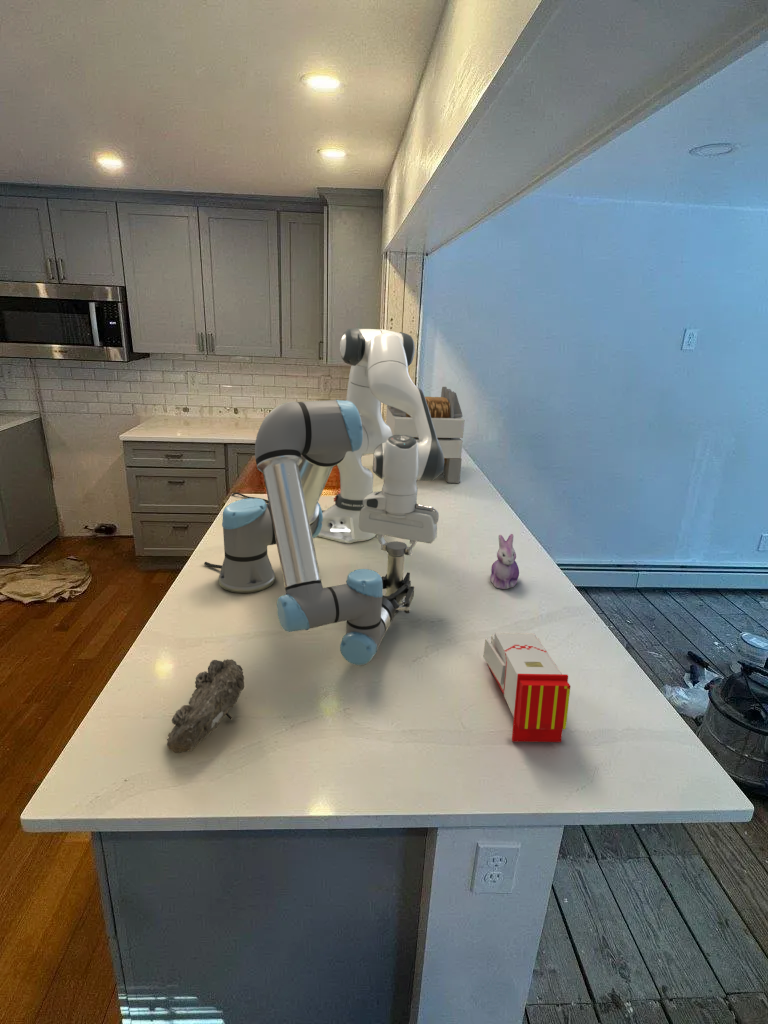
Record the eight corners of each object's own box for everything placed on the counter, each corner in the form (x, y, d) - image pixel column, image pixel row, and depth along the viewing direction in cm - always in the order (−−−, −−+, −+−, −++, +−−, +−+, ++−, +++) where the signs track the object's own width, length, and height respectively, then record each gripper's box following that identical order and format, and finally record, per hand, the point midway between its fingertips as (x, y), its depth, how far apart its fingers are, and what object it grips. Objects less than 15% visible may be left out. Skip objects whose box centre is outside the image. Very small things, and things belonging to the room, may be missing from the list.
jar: (394, 612, 148) (398, 553, 143) (382, 606, 151) (385, 548, 145) (404, 606, 152) (408, 548, 146) (391, 600, 154) (394, 543, 148)
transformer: (382, 463, 289) (386, 382, 275) (445, 464, 293) (451, 384, 279) (390, 482, 257) (394, 392, 243) (460, 483, 261) (468, 394, 247)
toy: (532, 616, 130) (580, 681, 101) (527, 670, 133) (572, 749, 103) (479, 615, 129) (512, 680, 100) (475, 669, 132) (506, 748, 103)
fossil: (192, 660, 117) (244, 628, 112) (224, 691, 120) (276, 661, 115) (142, 746, 98) (202, 712, 93) (182, 779, 101) (242, 748, 96)
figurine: (502, 593, 161) (508, 544, 156) (480, 578, 169) (486, 531, 164) (528, 587, 165) (535, 539, 160) (505, 572, 173) (511, 527, 168)
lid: (382, 552, 145) (382, 546, 144) (392, 545, 149) (392, 539, 149) (400, 557, 142) (401, 551, 142) (410, 550, 147) (410, 544, 146)
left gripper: (340, 624, 136) (368, 582, 157) (410, 637, 132) (429, 593, 153) (340, 597, 133) (369, 558, 155) (412, 609, 129) (431, 567, 151)
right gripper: (442, 504, 141) (438, 554, 145) (366, 492, 147) (364, 541, 152) (435, 511, 135) (431, 564, 140) (356, 498, 142) (355, 549, 146)
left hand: (399, 575), depth 154 cm, fingers closed on jar, 4 cm apart
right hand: (396, 552), depth 146 cm, fingers closed on lid, 5 cm apart
